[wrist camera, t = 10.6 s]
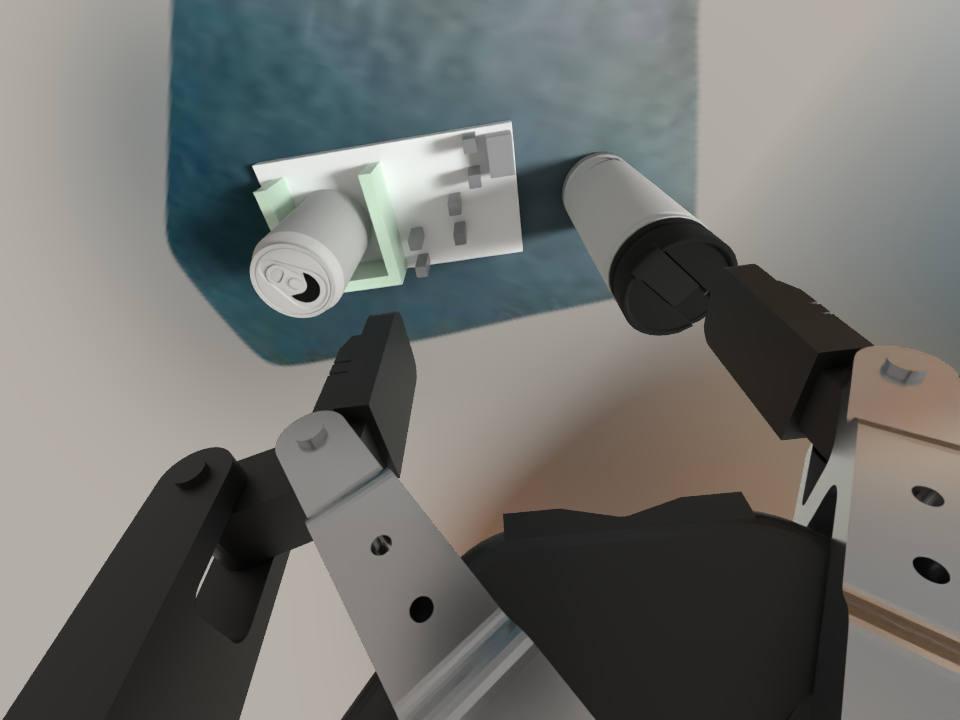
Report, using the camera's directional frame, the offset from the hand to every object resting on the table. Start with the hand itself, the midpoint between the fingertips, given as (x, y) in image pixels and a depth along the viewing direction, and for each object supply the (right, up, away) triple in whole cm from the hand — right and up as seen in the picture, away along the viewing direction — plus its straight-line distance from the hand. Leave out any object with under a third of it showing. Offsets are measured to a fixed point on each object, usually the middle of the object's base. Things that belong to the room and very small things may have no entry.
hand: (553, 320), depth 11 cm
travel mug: (+8, +15, +27) cm, 32 cm away
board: (-9, +13, +28) cm, 32 cm away
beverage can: (-15, +12, +28) cm, 33 cm away
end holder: (-14, +11, +27) cm, 33 cm away
